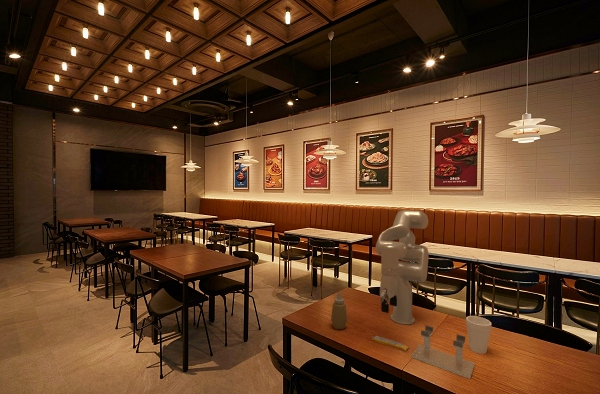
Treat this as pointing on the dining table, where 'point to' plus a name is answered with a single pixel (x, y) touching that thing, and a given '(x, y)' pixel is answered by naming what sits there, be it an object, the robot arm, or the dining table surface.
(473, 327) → the foam cup
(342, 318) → the squeeze bottle
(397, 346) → the candy bar
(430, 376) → the dining table surface
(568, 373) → the dining table surface
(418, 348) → the hook stand
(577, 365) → the dining table surface
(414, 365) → the dining table surface
